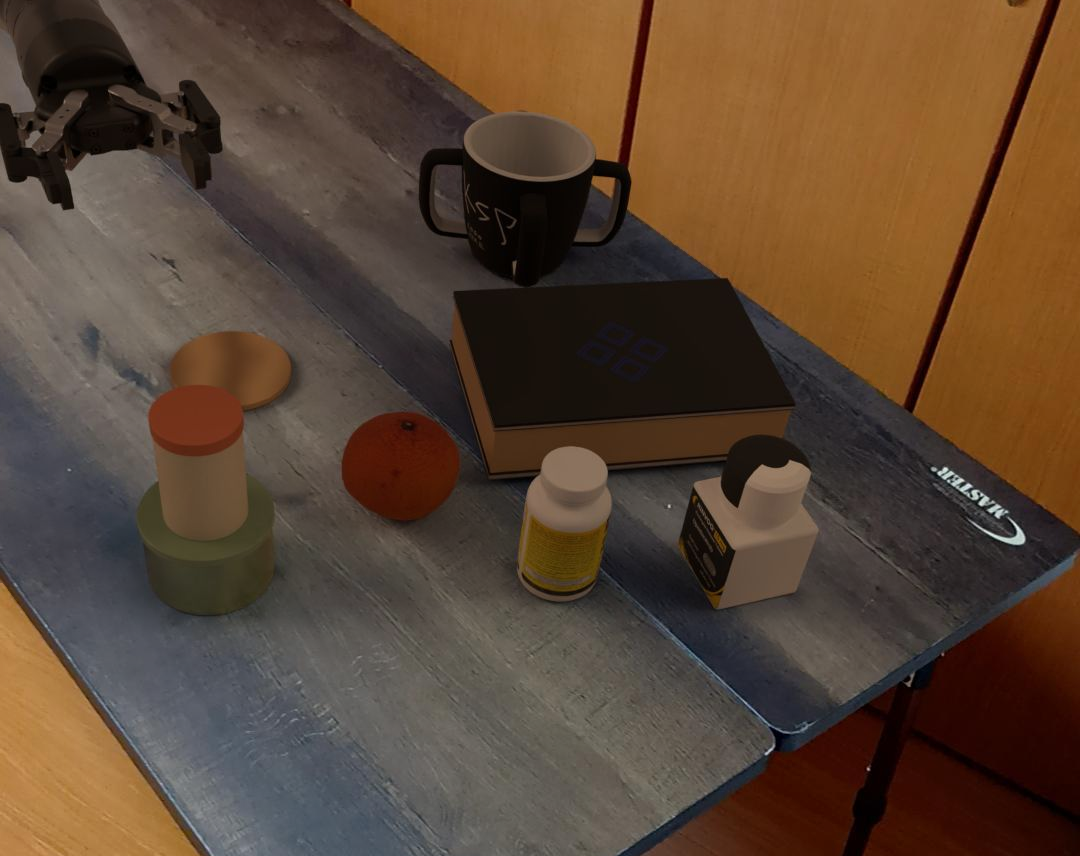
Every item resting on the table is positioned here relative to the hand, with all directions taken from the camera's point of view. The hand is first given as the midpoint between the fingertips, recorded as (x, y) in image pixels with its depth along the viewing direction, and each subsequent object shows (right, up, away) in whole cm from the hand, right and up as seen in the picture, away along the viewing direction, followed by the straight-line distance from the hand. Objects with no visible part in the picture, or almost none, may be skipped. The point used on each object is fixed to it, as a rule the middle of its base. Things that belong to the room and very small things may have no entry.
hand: (135, 187), depth 85 cm
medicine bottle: (+41, -25, +17) cm, 51 cm away
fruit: (+15, -20, +19) cm, 31 cm away
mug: (+24, +5, +44) cm, 50 cm away
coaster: (0, -9, +27) cm, 28 cm away
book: (+32, -11, +29) cm, 45 cm away
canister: (+3, -21, +7) cm, 22 cm away
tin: (+2, -25, +12) cm, 27 cm away
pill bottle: (+27, -25, +15) cm, 40 cm away
